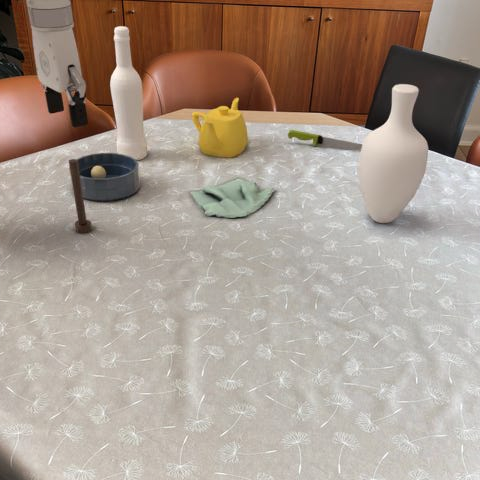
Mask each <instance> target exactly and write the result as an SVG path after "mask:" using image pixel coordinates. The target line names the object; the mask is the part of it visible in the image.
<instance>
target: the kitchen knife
mask: <svg viewBox="0 0 480 480" xmlns="http://www.w3.org/2000/svg"><path fill="white" fill-rule="evenodd" d="M287 137H288V138H289V139H290V140H291V139H292V138H296V139H298V140H300V141H311V140H312V147H314V148H315V147H322V148H330V149H338V150H339V149H340V150H349V151H361V148H362V145H363V143H358V142H352V141H347V140H342V139H337V138H332V137H327V136H322V135H321V134H315V133H311V132H305V131H301V130H296V129H295V130H293V129H290V130H289V131H288V133H287Z"/></svg>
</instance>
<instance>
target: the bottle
mask: <svg viewBox="0 0 480 480" xmlns="http://www.w3.org/2000/svg"><path fill="white" fill-rule="evenodd" d="M113 33H114V35H113V41H114V49H115V50H114V51H115V61H116V62H115V63H116V66H115V69H114V70H113V72H112V74H111V76H110V81H109V87H110V95H111V100H112V105H113V111H114V112H113V113H114V118H115V119H114V120H115V123H116V125H115V126H116V131H117V138H116V143H115V144H116V151H117V154H124V155H127V156H130V157H132V158H134V159H136V161H140V160H143V159H145V158H147V155H148V150H149V149H148V141H147V139H146V136H145V130H144V100H143V99H144V98H143V96H144V95H143V93H144V92H143V81H142V78H141V77H140V74H139V73H138V72H137V70H136V69H135V68H134V67H133V62H132V52H131V51H132V50H131V45H130V40H131V38H130V37H131V36H130V29H129V27H127V26H125V25H124V26H123V25H119V26H116V27H114V30H113Z"/></svg>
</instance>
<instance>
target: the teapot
mask: <svg viewBox="0 0 480 480" xmlns="http://www.w3.org/2000/svg"><path fill="white" fill-rule="evenodd" d="M239 101H240V99H239V97H235V98H234V99H233V100H232V103H231V108H229V107H228V106H226V105H221V106H220V105H219V106H218V107H216V108H212V109H211V110H209V111H208V112H207V113H205V112H202V111H193V112H192V113H191V119H192V122H193V125H194V126H195V128H196V130H197V131H198V132H199V135H198V146H199V149H200V151H201V153H202V154H204V155H207V156H212V157H218V158H227V159H229V158H230V159H231V158H234V157H236V156H237V157H238V155H240V154H241V153H243V152H244V150H245V149H246V146H247V144H248V139H249V137H248V129H247V124H246V121H245V117H244V116H243V114H242V112H241V110H239V108H238V105H239ZM200 118H203V120H202V123H201V122H200Z"/></svg>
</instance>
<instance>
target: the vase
mask: <svg viewBox="0 0 480 480" xmlns="http://www.w3.org/2000/svg"><path fill="white" fill-rule="evenodd" d="M419 91H420V89H419V88H418V86H415V85H413V84H409V83H408V84H407V83H398V84H395V85H394V86H392V88H391V110H390V113H389V116H388V119H387V120H386V121H385V123H384V124H382V125H381V126H379V127H377V128H375V129H373V130H372V131H370V132H369V133H368V134H367V135H366V136H365V138H364V139H363V141H362V144H363V145H362V148H361V149H360V153H359V158H358V163H357V164H358V166H357V172H358V173H357V174H358V185H359V191H360V194H361V197H362V199H363V202H364V204H365V208H366V210H367V212H368V215H369V216H370V218H371V219H372V220H373V221H375V222H376V223H380V224H388V223H392V222H393V221H395V220H396V219H397V218H398V217H399V216H400V214H401V213H402V212H403V211H404V210H405V208H406V207H407V206H408V205H409V204H410V202H411V201H412V200H413V198H414V197H415V195H416V194H417V192H418V190H419V189H420V186H421V184H422V181H423V179H424V177H425V174H426V171H427V170H426V169H427V166H428V165H427V164H428V158H429V145H428V141H427V140H426V138H425V137H424V136H423V135H422V134H421V133H420V132H419V131H418V130H417V129H416V127H415V126H414V123H413V111H414V106H415V103H416V101H417V99H418V95H419V93H420V92H419Z"/></svg>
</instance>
